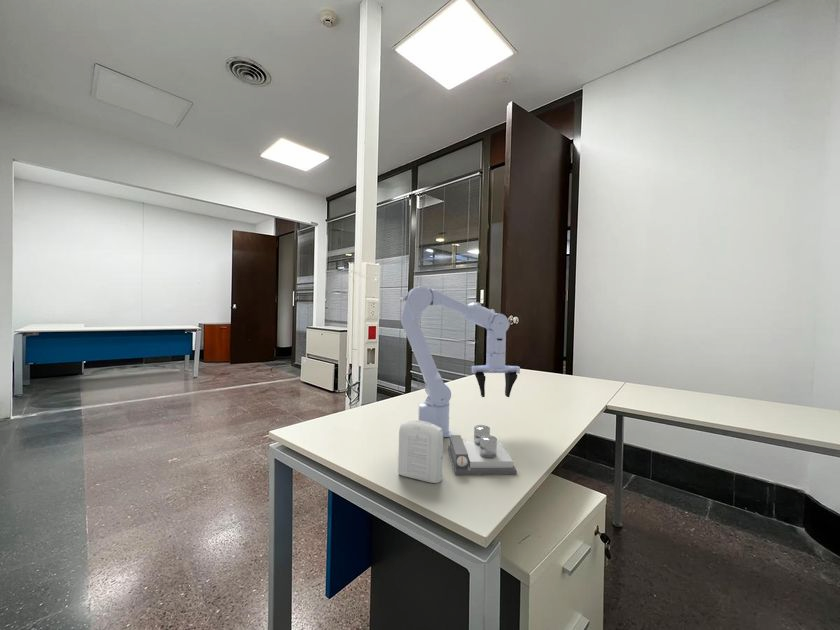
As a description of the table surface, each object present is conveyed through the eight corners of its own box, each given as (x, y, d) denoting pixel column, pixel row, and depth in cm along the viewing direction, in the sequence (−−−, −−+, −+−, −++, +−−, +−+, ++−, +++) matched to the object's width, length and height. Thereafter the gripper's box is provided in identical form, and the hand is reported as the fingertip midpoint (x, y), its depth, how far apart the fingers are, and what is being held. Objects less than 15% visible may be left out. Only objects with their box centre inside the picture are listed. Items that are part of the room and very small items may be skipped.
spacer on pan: (475, 446, 83) (476, 430, 83) (472, 439, 87) (472, 425, 87) (491, 446, 83) (491, 430, 83) (487, 439, 87) (487, 425, 87)
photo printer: (445, 476, 73) (445, 421, 73) (439, 486, 69) (439, 428, 69) (403, 467, 77) (403, 415, 77) (395, 476, 73) (395, 421, 73)
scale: (455, 474, 74) (455, 456, 74) (448, 449, 87) (448, 433, 87) (516, 474, 74) (516, 456, 74) (500, 448, 87) (500, 433, 87)
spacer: (480, 458, 77) (481, 441, 76) (478, 450, 81) (479, 434, 80) (497, 459, 76) (498, 442, 76) (494, 451, 80) (495, 435, 80)
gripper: (475, 354, 96) (474, 400, 96) (523, 354, 97) (522, 400, 97) (470, 350, 103) (469, 393, 103) (515, 351, 104) (515, 393, 104)
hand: (495, 396), depth 101 cm, fingers open, 7 cm apart
